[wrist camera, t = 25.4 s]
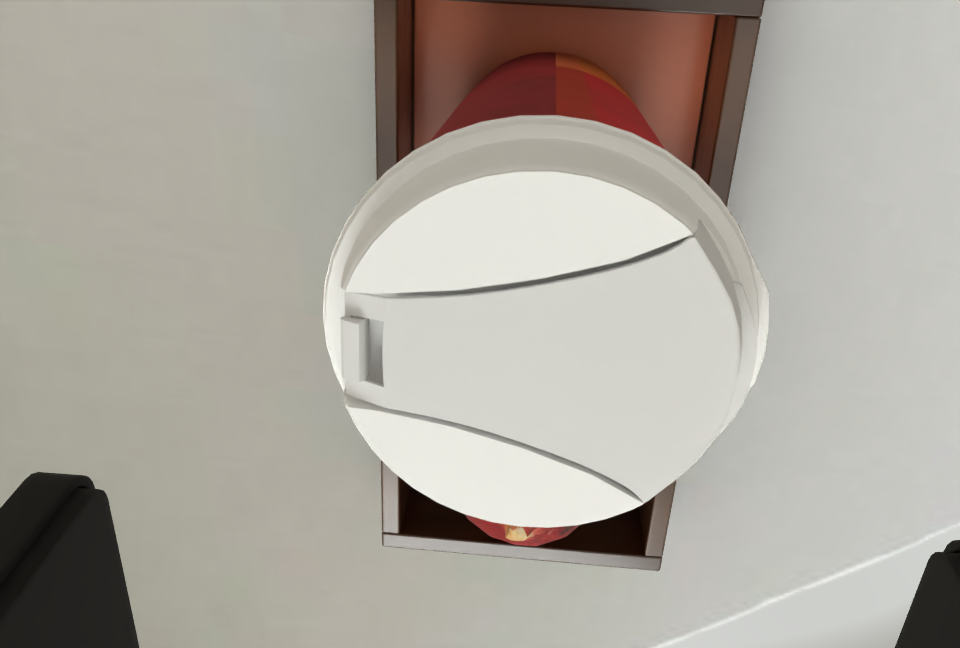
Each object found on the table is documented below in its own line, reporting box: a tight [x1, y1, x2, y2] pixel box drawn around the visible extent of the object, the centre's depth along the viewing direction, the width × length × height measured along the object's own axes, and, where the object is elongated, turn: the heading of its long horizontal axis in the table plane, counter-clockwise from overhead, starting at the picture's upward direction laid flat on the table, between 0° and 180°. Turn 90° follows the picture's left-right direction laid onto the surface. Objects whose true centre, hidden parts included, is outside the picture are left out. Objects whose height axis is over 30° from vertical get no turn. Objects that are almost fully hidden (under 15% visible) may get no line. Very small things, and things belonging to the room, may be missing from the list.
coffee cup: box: [323, 51, 769, 528], centre depth 21 cm, size 8×8×15 cm
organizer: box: [374, 0, 765, 571], centre depth 30 cm, size 21×11×4 cm, turn 178°
